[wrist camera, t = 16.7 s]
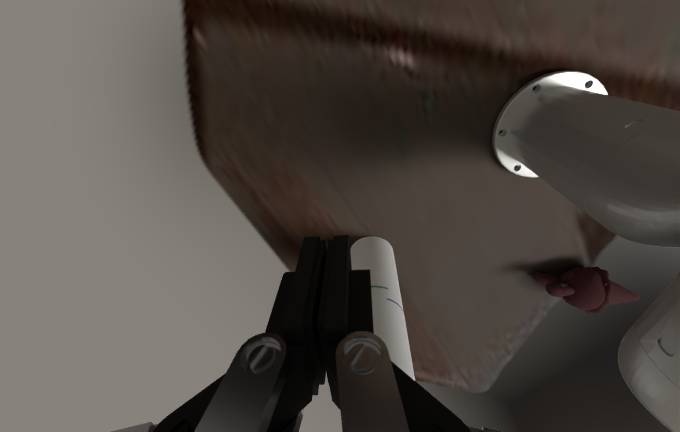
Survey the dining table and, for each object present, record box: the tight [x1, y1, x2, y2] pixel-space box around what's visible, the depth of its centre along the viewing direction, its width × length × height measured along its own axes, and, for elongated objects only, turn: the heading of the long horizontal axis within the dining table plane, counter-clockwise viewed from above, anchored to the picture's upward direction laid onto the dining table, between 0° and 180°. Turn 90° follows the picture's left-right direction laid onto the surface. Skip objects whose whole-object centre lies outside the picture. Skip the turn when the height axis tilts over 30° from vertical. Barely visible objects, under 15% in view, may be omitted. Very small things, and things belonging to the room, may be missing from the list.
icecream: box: [533, 267, 641, 313], centre depth 45 cm, size 7×7×15 cm
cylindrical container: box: [350, 236, 415, 381], centre depth 37 cm, size 7×7×25 cm
